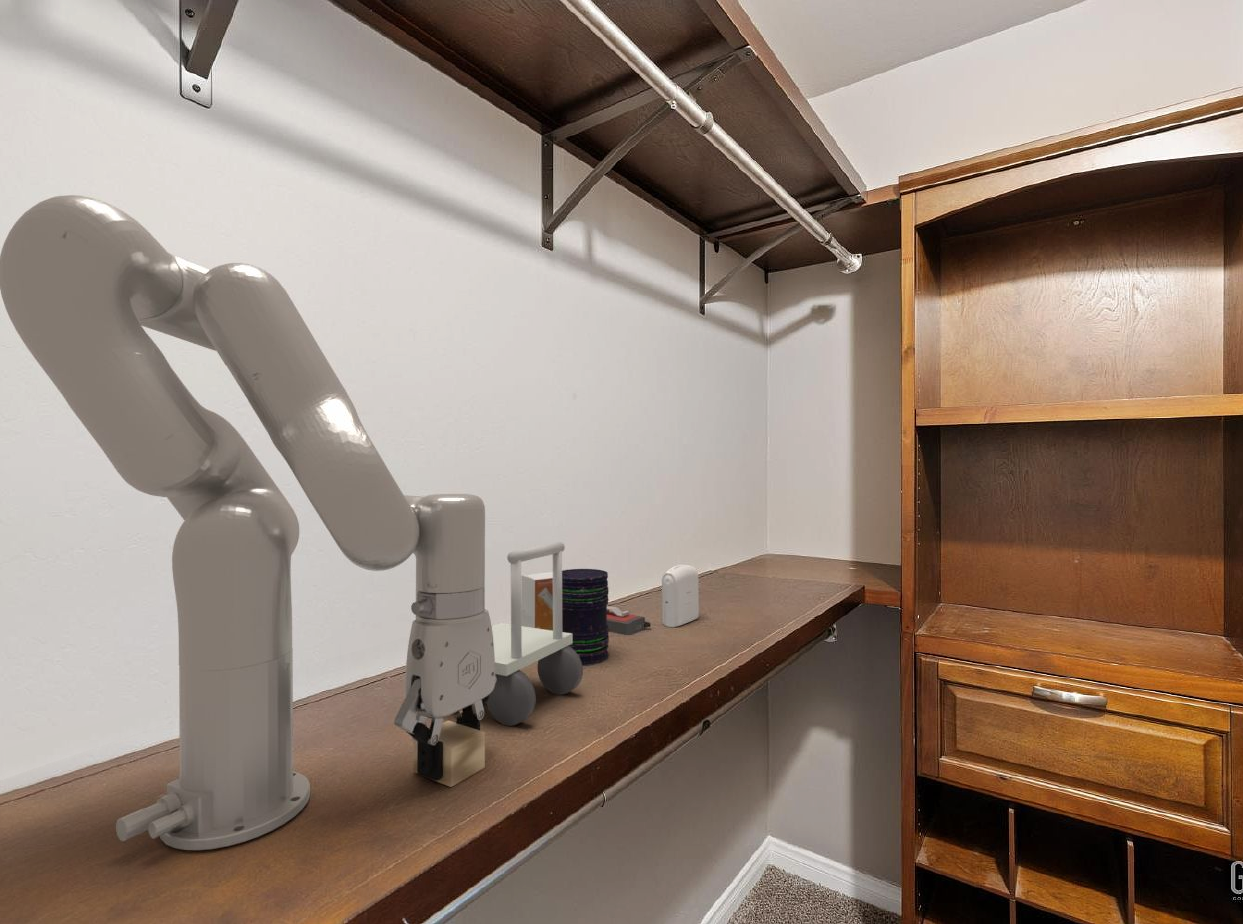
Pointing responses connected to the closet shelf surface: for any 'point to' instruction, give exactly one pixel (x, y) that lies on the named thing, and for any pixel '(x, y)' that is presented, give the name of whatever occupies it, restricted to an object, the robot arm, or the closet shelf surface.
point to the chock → (459, 752)
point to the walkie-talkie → (624, 622)
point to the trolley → (531, 647)
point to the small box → (537, 601)
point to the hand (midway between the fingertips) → (449, 763)
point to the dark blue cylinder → (586, 613)
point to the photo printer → (680, 595)
